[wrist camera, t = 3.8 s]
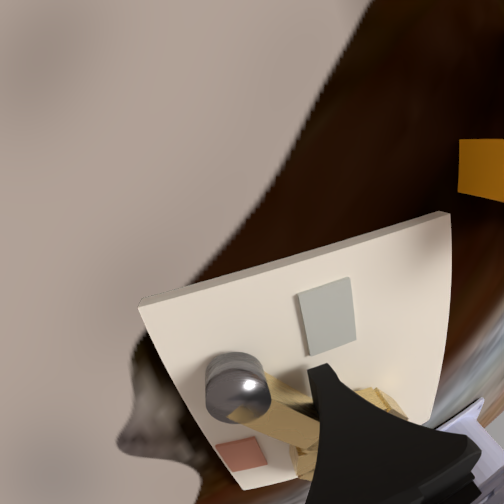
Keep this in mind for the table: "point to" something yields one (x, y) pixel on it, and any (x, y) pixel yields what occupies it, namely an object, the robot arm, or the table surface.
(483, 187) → the pipe clamp
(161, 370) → the table surface
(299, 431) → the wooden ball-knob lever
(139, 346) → the table surface
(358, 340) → the board
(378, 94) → the table surface
